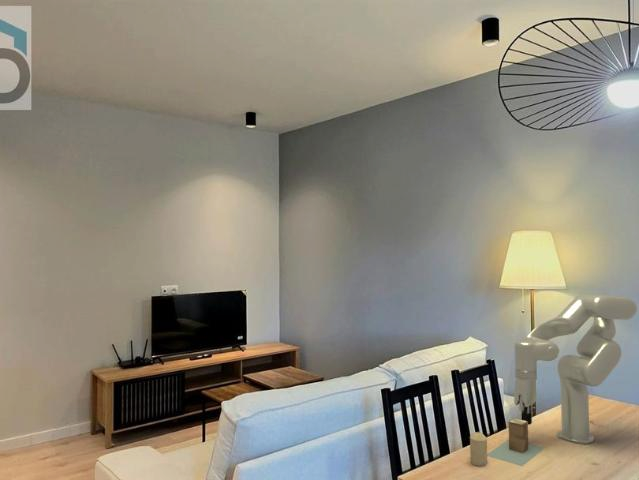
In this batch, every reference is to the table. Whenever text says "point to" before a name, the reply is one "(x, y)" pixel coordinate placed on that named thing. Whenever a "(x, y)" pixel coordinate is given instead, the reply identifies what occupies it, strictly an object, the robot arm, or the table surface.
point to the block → (518, 435)
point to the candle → (478, 449)
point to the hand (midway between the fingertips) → (526, 423)
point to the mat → (515, 453)
